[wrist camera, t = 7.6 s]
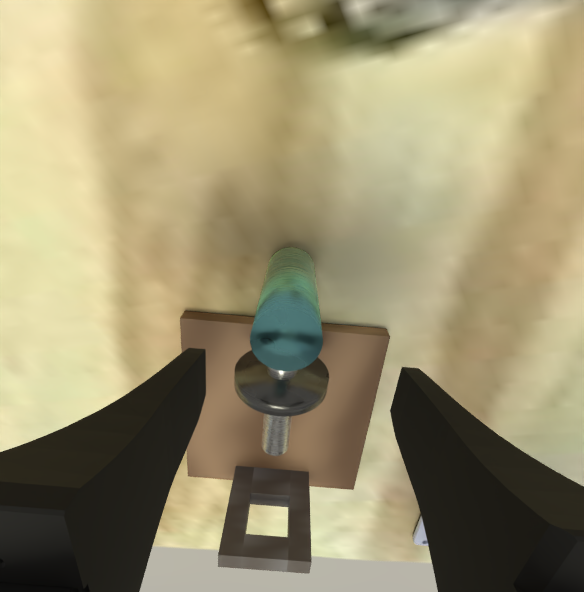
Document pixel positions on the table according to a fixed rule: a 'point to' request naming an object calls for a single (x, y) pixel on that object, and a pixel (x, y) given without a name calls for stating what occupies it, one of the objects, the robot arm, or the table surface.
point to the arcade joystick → (284, 349)
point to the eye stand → (302, 443)
